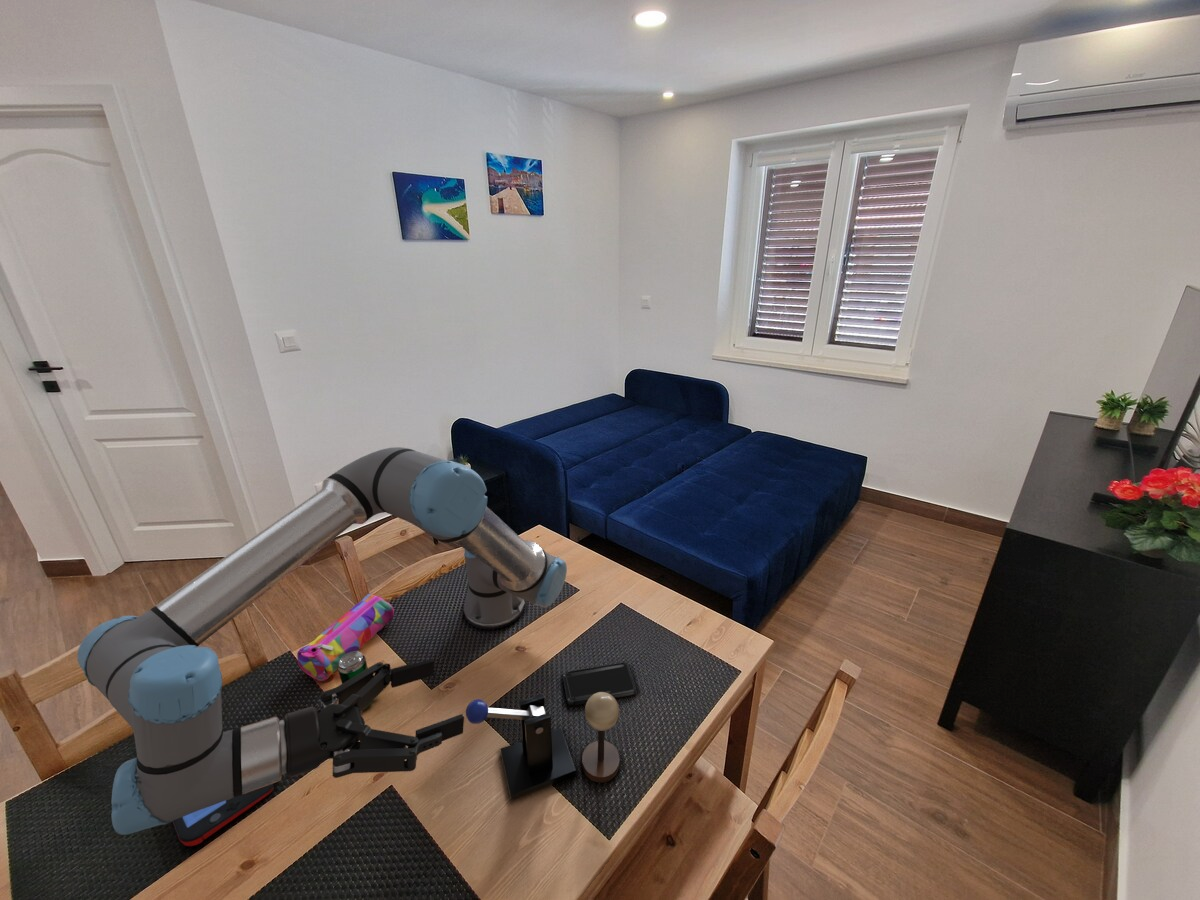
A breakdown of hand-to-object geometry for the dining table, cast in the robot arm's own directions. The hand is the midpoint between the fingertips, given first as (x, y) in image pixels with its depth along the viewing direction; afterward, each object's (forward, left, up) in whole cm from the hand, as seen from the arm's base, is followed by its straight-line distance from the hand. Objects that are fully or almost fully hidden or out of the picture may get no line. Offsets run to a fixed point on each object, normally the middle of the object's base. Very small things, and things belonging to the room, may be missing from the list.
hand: (447, 693), depth 75 cm
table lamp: (+4, +25, -25) cm, 35 cm away
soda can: (-26, -17, -25) cm, 41 cm away
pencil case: (-43, -20, -25) cm, 54 cm away
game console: (-15, -39, -25) cm, 49 cm away
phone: (-12, +31, -25) cm, 41 cm away
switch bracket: (0, +14, -25) cm, 28 cm away
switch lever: (0, +8, -11) cm, 13 cm away
